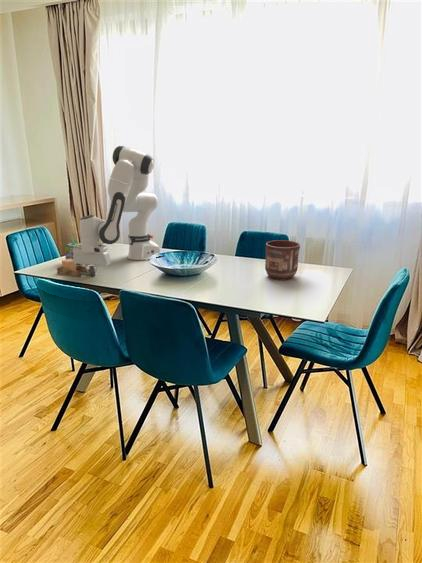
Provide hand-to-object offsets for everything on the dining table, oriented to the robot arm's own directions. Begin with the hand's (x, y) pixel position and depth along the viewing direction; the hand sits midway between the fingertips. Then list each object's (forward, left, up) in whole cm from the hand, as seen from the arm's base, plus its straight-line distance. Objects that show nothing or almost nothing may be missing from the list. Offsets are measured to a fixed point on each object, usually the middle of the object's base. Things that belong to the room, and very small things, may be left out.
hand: (92, 272), depth 219 cm
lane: (+6, -10, -2) cm, 12 cm away
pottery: (-81, +58, -2) cm, 100 cm away
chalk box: (-1, -28, -2) cm, 28 cm away
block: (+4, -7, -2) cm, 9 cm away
